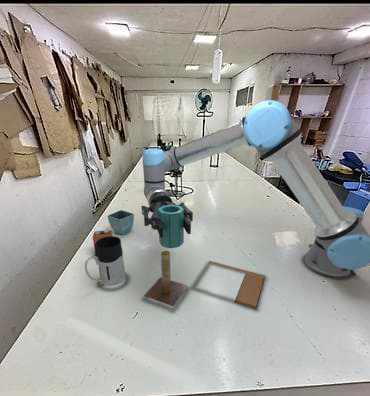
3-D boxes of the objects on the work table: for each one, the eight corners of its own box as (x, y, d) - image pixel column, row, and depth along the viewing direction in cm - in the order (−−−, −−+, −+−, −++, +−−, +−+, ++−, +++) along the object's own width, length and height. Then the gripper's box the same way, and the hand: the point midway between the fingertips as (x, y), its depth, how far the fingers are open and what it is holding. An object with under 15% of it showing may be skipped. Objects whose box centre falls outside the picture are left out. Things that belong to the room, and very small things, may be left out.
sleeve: (186, 239, 67) (187, 207, 63) (176, 250, 62) (176, 215, 58) (167, 235, 70) (166, 203, 66) (155, 244, 65) (154, 211, 61)
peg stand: (188, 289, 75) (188, 248, 69) (173, 310, 67) (172, 266, 61) (161, 280, 79) (159, 241, 73) (144, 299, 71) (140, 257, 65)
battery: (113, 255, 93) (110, 232, 89) (95, 256, 92) (91, 234, 88) (114, 249, 97) (111, 227, 93) (97, 250, 96) (93, 229, 92)
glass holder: (132, 277, 81) (128, 238, 74) (102, 304, 69) (95, 261, 63) (112, 270, 84) (107, 233, 78) (81, 295, 72) (71, 253, 66)
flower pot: (122, 238, 106) (120, 220, 103) (108, 233, 111) (106, 215, 107) (135, 230, 113) (134, 213, 109) (122, 226, 117) (121, 209, 114)
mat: (264, 277, 81) (264, 275, 81) (255, 308, 68) (256, 306, 68) (209, 263, 89) (209, 260, 89) (192, 288, 76) (192, 286, 75)
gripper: (187, 209, 83) (211, 239, 63) (131, 214, 79) (137, 249, 58) (187, 188, 80) (212, 213, 60) (129, 193, 75) (135, 221, 55)
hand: (175, 230), depth 59 cm, fingers closed on sleeve, 6 cm apart
